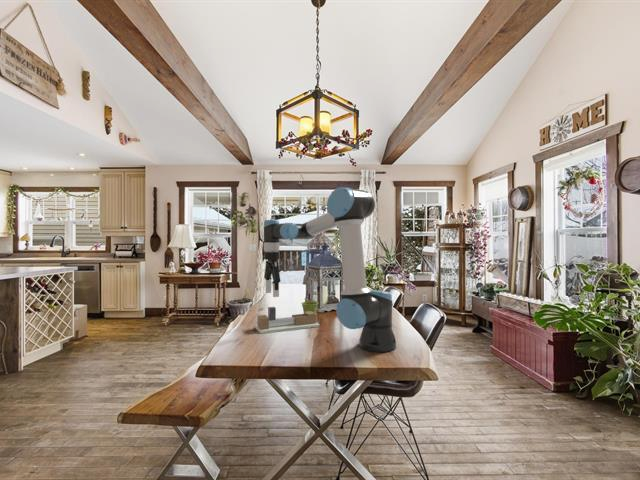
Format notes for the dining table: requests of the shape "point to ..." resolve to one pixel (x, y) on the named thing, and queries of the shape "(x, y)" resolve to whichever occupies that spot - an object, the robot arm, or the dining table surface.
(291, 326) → the board
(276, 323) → the slide bar
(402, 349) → the dining table surface
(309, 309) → the plant pot
